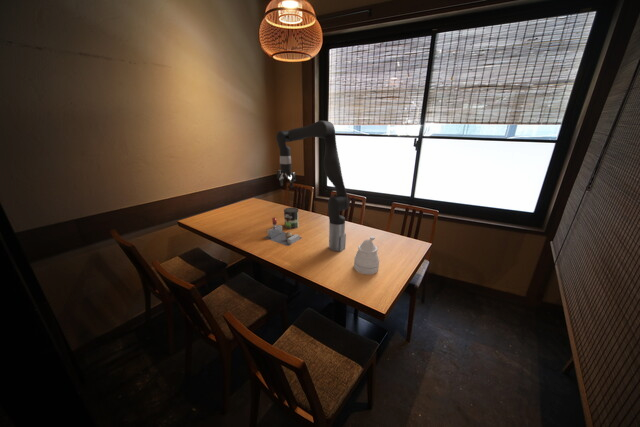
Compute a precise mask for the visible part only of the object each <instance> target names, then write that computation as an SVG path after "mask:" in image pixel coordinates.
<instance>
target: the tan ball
mask: <svg viewBox="0 0 640 427" xmlns="http://www.w3.org/2000/svg"><path fill="white" fill-rule="evenodd" d="M285 233H286V237H287V238H290V237H291V236H292V235H293V233H292V232H290V231H287V232H285Z"/></svg>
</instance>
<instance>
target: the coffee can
mask: <svg viewBox="0 0 640 427" xmlns="http://www.w3.org/2000/svg"><path fill="white" fill-rule="evenodd" d="M283 215H284V216H283V217H284V228H286V229H288V230H293V229H297V228H299V226H300V225H299V224H300V223H299V208H297V207H291V206H290V207H285V208H284V209H283Z"/></svg>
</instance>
